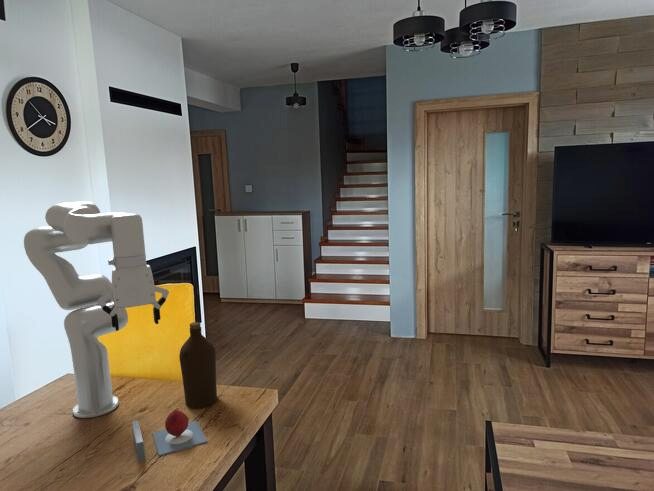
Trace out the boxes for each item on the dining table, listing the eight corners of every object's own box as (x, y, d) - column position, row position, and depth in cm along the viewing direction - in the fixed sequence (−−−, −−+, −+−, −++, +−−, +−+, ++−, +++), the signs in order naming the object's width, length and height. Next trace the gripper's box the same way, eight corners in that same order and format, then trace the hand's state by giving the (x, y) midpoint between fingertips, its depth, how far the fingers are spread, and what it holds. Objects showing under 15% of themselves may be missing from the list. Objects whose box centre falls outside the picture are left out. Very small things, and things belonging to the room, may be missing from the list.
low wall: (133, 439, 124) (131, 421, 123) (139, 437, 125) (137, 420, 124) (138, 462, 114) (136, 443, 113) (145, 460, 114) (143, 441, 113)
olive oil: (216, 408, 139) (210, 327, 136) (180, 411, 138) (172, 330, 135) (221, 392, 150) (215, 317, 146) (187, 395, 149) (180, 319, 145)
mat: (152, 434, 126) (152, 432, 126) (197, 421, 132) (197, 420, 132) (159, 456, 116) (158, 454, 116) (207, 442, 121) (207, 440, 121)
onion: (182, 443, 120) (179, 414, 119) (162, 441, 121) (159, 413, 120) (193, 431, 126) (190, 403, 125) (173, 429, 127) (171, 402, 126)
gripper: (93, 268, 113) (101, 336, 115) (167, 260, 121) (173, 323, 123) (92, 263, 119) (100, 328, 122) (163, 256, 127) (168, 316, 130)
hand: (137, 326), depth 122 cm, fingers open, 9 cm apart
